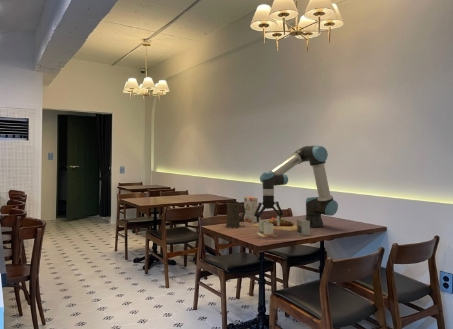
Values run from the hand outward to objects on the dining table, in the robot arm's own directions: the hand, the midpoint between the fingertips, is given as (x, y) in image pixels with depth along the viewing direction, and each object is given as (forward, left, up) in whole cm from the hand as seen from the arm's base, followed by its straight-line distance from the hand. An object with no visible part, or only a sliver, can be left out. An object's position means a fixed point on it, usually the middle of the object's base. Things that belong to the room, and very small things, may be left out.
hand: (268, 226), depth 244 cm
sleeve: (0, 0, -6) cm, 6 cm away
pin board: (0, -4, -8) cm, 9 cm away
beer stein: (+11, -45, -8) cm, 47 cm away
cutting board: (-20, -33, -9) cm, 40 cm away
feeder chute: (-27, -4, -8) cm, 29 cm away
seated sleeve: (0, -9, -6) cm, 11 cm away
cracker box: (-7, -63, -8) cm, 64 cm away
